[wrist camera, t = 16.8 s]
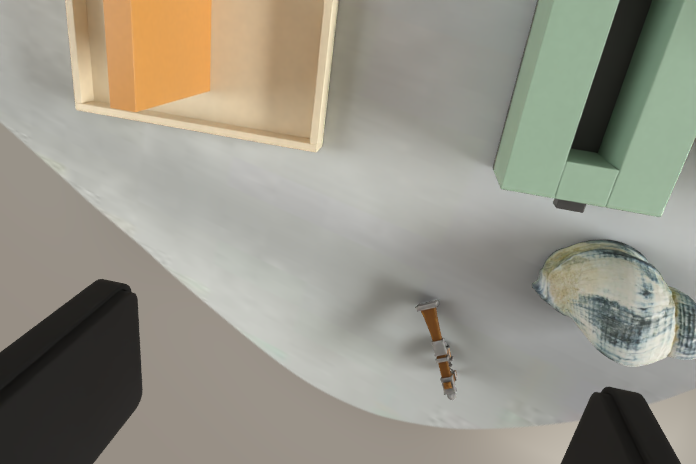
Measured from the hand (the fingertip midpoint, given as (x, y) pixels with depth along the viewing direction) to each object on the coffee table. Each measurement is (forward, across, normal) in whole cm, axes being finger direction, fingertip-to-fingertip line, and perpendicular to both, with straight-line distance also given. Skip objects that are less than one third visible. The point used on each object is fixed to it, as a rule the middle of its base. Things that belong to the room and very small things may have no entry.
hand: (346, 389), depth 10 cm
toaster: (+28, -12, -6) cm, 31 cm away
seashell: (+28, -18, +10) cm, 35 cm away
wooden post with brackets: (+28, -6, +17) cm, 34 cm away
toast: (+28, +16, -5) cm, 32 cm away
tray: (+28, +16, -5) cm, 33 cm away
